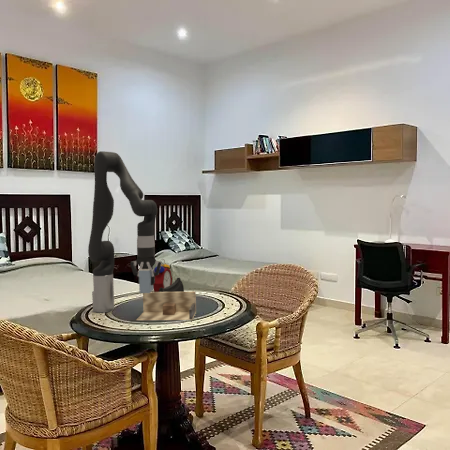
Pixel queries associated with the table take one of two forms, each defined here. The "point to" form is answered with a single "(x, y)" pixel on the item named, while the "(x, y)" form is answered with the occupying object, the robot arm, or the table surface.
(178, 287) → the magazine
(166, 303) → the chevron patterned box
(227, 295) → the table surface
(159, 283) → the alarm clock
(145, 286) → the blue grey block
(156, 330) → the table surface
